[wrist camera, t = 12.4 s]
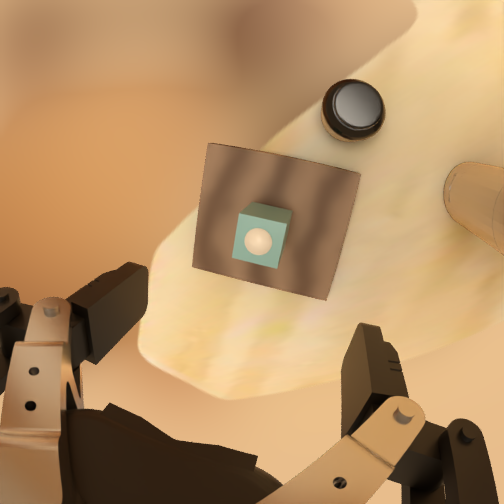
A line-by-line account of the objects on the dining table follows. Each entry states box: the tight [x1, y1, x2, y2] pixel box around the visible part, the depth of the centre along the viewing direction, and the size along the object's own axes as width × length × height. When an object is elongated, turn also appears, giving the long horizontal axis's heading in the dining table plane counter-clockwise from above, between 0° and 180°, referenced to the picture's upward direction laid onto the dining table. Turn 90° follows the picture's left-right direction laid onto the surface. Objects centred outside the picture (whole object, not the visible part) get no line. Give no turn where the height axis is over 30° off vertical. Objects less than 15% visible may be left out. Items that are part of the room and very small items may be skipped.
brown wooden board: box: [192, 143, 361, 301], centre depth 39 cm, size 20×18×9 cm
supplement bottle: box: [321, 79, 385, 142], centre depth 31 cm, size 7×7×12 cm
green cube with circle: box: [232, 202, 292, 269], centre depth 37 cm, size 5×5×7 cm
